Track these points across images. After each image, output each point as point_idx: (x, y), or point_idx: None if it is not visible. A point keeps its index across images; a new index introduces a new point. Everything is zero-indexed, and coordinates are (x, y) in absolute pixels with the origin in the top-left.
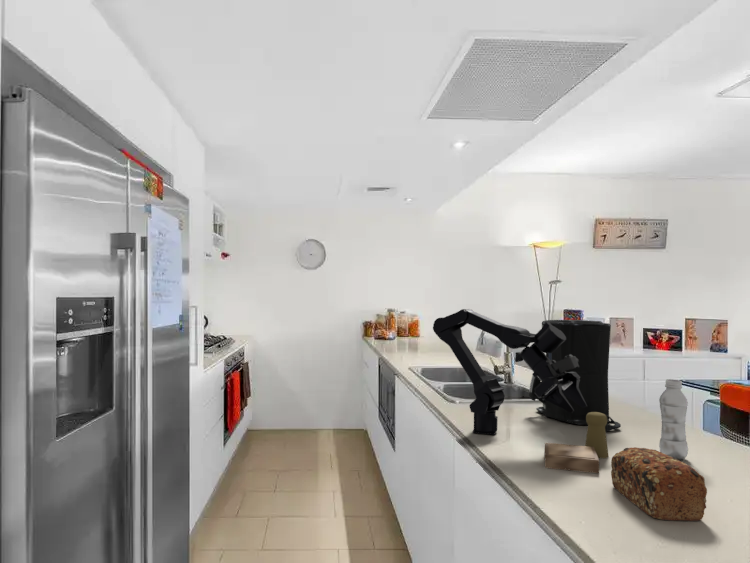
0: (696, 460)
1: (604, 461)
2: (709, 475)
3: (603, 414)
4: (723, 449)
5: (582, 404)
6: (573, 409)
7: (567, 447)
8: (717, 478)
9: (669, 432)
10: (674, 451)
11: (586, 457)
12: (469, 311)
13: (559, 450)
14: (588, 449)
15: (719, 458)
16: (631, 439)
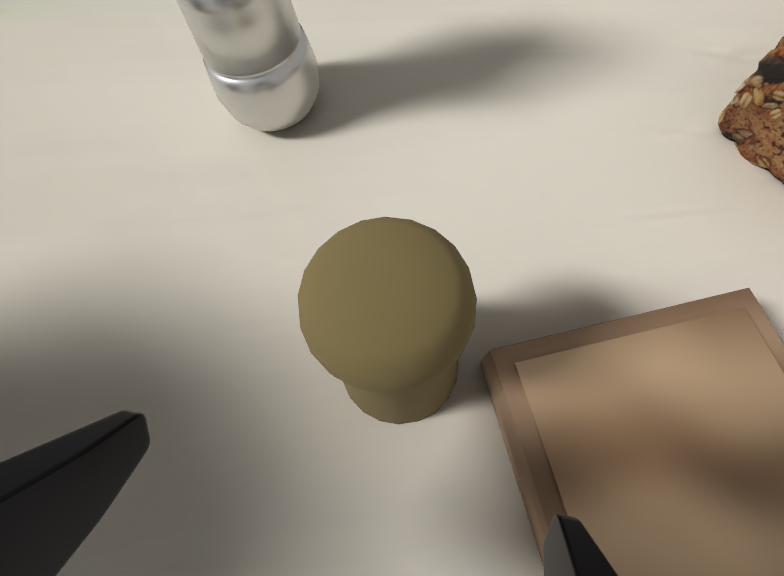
0: None
1: (490, 313)
2: (437, 23)
3: (390, 227)
4: (87, 5)
5: (114, 465)
6: (561, 521)
7: (637, 493)
8: (456, 9)
9: (282, 10)
10: (317, 70)
11: (766, 349)
12: None
13: (755, 532)
14: (584, 365)
15: None
16: (24, 255)
